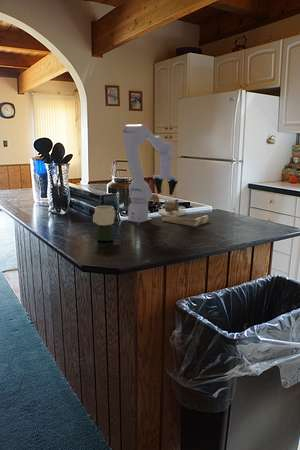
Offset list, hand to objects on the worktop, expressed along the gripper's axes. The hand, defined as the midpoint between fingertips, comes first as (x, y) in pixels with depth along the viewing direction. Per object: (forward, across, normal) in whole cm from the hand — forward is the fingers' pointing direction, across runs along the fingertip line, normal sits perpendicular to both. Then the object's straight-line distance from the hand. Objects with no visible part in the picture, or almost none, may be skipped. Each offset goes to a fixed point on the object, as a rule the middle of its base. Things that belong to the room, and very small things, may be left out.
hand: (165, 193), depth 193 cm
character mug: (+10, -13, +56) cm, 59 cm away
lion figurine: (+10, +18, -10) cm, 23 cm away
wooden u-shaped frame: (+10, -18, +9) cm, 23 cm away
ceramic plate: (+10, -3, -2) cm, 11 cm away
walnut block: (+9, -3, -2) cm, 10 cm away
